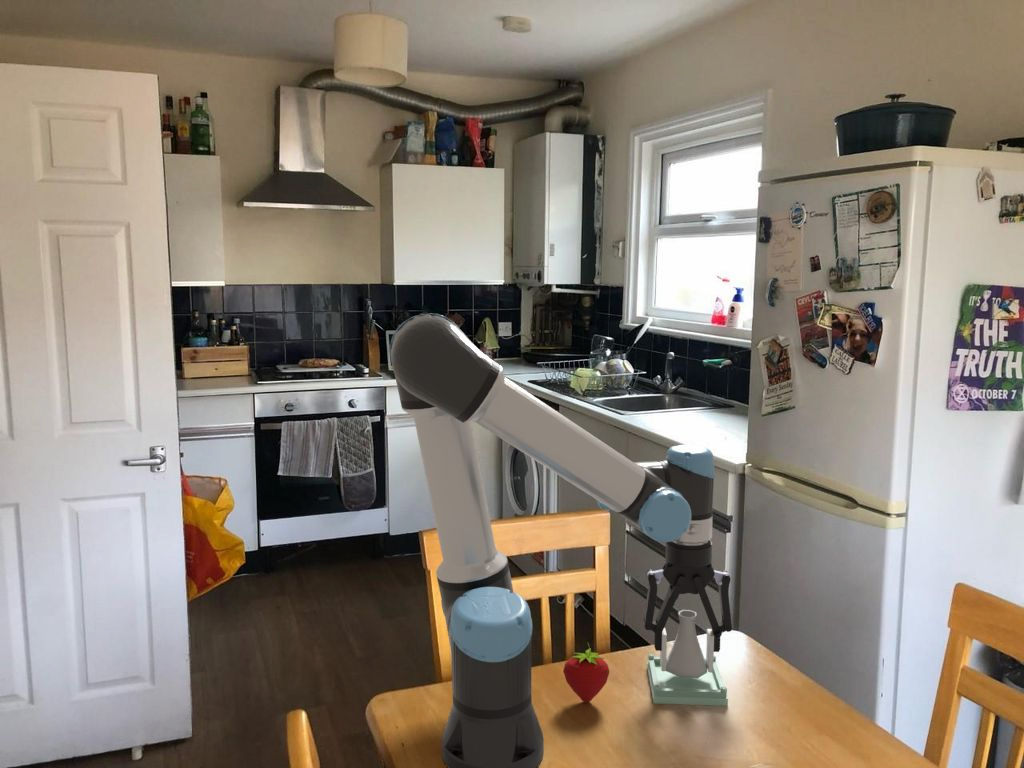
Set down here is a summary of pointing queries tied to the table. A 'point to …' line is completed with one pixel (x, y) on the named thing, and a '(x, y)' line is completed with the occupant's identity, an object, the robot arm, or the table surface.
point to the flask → (686, 649)
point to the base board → (686, 686)
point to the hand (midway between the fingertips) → (686, 667)
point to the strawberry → (586, 674)
